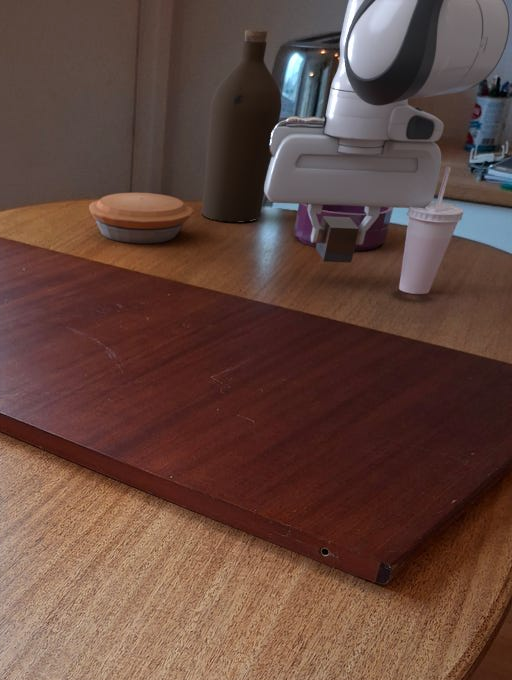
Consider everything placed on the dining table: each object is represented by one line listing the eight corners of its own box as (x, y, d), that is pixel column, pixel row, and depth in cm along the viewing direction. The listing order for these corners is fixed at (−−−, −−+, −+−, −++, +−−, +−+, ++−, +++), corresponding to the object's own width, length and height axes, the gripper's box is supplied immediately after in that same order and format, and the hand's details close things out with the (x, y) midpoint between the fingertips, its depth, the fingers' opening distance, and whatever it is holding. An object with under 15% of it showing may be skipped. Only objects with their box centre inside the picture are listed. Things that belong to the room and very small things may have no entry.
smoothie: (445, 288, 113) (481, 167, 105) (432, 300, 109) (469, 175, 101) (396, 279, 116) (426, 161, 108) (381, 291, 112) (412, 169, 103)
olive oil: (271, 224, 139) (303, 33, 124) (205, 224, 138) (229, 32, 123) (253, 208, 147) (281, 28, 132) (191, 208, 147) (212, 27, 131)
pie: (148, 254, 124) (151, 215, 121) (66, 233, 133) (68, 197, 130) (210, 234, 133) (214, 199, 130) (130, 217, 142) (133, 182, 139)
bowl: (373, 230, 137) (382, 195, 133) (392, 253, 126) (402, 216, 123) (287, 227, 137) (294, 192, 134) (300, 250, 127) (307, 212, 124)
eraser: (315, 248, 115) (322, 215, 113) (342, 249, 115) (350, 217, 113) (323, 261, 111) (330, 227, 108) (351, 262, 111) (359, 228, 108)
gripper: (278, 119, 102) (256, 245, 110) (458, 125, 100) (423, 252, 109) (271, 111, 106) (251, 233, 115) (443, 117, 105) (410, 239, 114)
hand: (336, 242), depth 112 cm, fingers closed on eraser, 3 cm apart
